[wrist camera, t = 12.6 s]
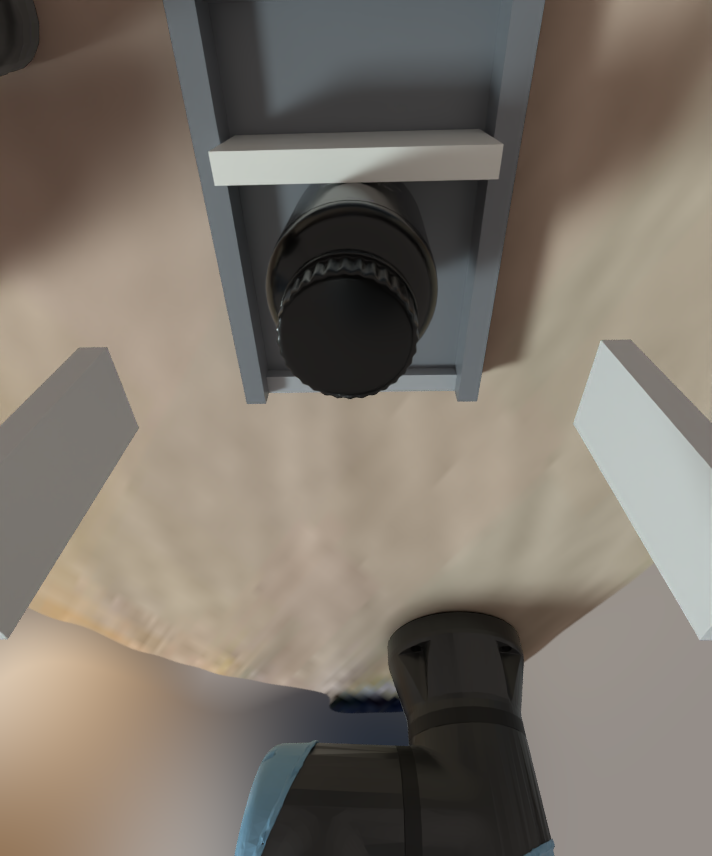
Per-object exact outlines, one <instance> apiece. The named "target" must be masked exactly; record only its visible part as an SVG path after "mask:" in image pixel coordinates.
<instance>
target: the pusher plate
mask: <svg viewBox="0 0 712 856" xmlns="http://www.w3.org/2000/svg"><path fill="white" fill-rule="evenodd" d="M503 146H504V144H503V143H501V142H499V141H498V140H496V139H495V138H493V137H492V136H490V135H488V134H487V133H485V132H484V131H482V130H481V129H455V130H416V131H377V132H339V133H300V134H262V135H234V136H233V137H231V138H230V139H228V140H226V141H225V142H223V143H221V144H220V145H218V146H217V147H215V148H213V149H212V150H210V151H208V153H209V159H210V164H211V169H212V174H213V179H214V185H215V186H228V185H271V184H315V183H358V182H401V181H444V180H488V179H499V173H500V166H501V159H502V153H503Z"/></svg>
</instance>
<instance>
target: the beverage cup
mask: <svg viewBox="0 0 712 856" xmlns="http://www.w3.org/2000/svg"><path fill="white" fill-rule="evenodd" d="M38 44H39V22H38V18H37V14H36V10H35V6H34V2H33V0H0V76H2V75H6V74H7V73H8V72H12V71H16V70H19V69H22V68H24V67H25V66H26V65H27V64H28V63H29V62H30V61H31V60H32V59H33V58H34V55H35V52H36V49H37V47H38Z"/></svg>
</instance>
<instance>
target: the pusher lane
mask: <svg viewBox="0 0 712 856" xmlns="http://www.w3.org/2000/svg"><path fill="white" fill-rule="evenodd" d="M163 4H164V9H165V13H166V18H167V23H168V28H169V33H170V37H171V42H172V47H173V52H174V57H175V61H176V66H177V71H178V76H179V80H180V85H181V90H182V95H183V100H184V104H185V109H186V114H187V119H188V124H189V128H190V133H191V138H192V143H193V148H194V152H195V157H196V162H197V167H198V172H199V176H200V181H201V186H202V191H203V196H204V200H205V205H206V210H207V215H208V219H209V224H210V229H211V234H212V239H213V243H214V248H215V253H216V258H217V263H218V267H219V272H220V277H221V282H222V287H223V291H224V296H225V301H226V306H227V311H228V315H229V320H230V325H231V330H232V335H233V339H234V344H235V349H236V354H237V358H238V363H239V368H240V373H241V378H242V382H243V387H244V392H245V397H246V402H247V404H266V401H267V398H268V394H269V393H293V392H319V391H314V390H312V389H311V388H310V387H309V386H308V385H305V384H302V382H301V381H300V379H299V378H297V377H295V376H294V375H293V374H292V371H291V369H290V368H288V367H287V366H286V365H285V360H284V358H283V357H282V356H281V355H280V347H279V345H278V343H277V336H278V334H277V331H276V325H275V323H274V321H273V319H272V316H271V314H270V311H269V308H268V303H267V298H266V273H267V268H268V264H269V261H270V257H271V254H272V252H273V250H274V247H275V245H276V243H277V241H278V239H279V237H280V235H281V233H282V231H283V230H284V228H285V226H286V224H287V222H288V220H289V218H290V216H291V214H292V212H293V211H294V209H295V207H296V205H297V203H298V201H299V199H300V198H301V196H302V195H303V193H304V192H305V190H306V189H307V188H308V187H309V185H310V184H271V185H228V186H215V185H214V179H213V174H212V169H211V164H210V159H209V153H208V151H210V150H212V149H213V148H215V147H217V146H218V145H220V144H221V143H223V142H225V141H226V140H228V139H230V138H231V137H233V136H234V135H262V134H300V133H339V132H377V131H416V130H455V129H481V130H482V131H484V132H485V133H487V134H488V135H490V136H492V137H493V138H495V139H496V140H498V141H499V142H501V143H503V144H504V146H503V153H502V159H501V166H500V173H499V179H488V180H444V181H401V182H402V183H403V184H404V185H405V186H406V187H407V189H408V190H409V191H410V193H411V194H412V196H413V197H414V199H415V201H416V203H417V206H418V208H419V211H420V213H421V217H422V220H423V224H424V227H425V231H426V234H427V238H428V241H429V245H430V248H431V252H432V255H433V259H434V262H435V266H436V271H437V279H438V297H437V304H436V308H435V312H434V315H433V318H432V320H431V322H430V325H429V327H428V328H427V330H426V332H425V334H424V335H423V336H422V338H421V339H420V340H419V341H418V343H417V344H416V345H417V352H416V354H415V355H414V356H413V360H412V364H411V365H410V366H409V367H407V369H406V373H405V374H404V375H403V376H401V377H399V379H398V381H397V382H396V383H394V384H392V385H390V386H389V387H388V388H387V389H386V390H383V391H455V394H456V397H457V401H477V398H478V393H479V387H480V381H481V375H482V369H483V363H484V357H485V351H486V345H487V340H488V334H489V328H490V322H491V316H492V310H493V304H494V298H495V292H496V287H497V281H498V275H499V269H500V263H501V257H502V251H503V245H504V239H505V234H506V228H507V222H508V216H509V210H510V204H511V198H512V192H513V186H514V181H515V175H516V169H517V163H518V157H519V151H520V145H521V139H522V133H523V128H524V122H525V116H526V110H527V104H528V98H529V92H530V86H531V80H532V75H533V69H534V63H535V57H536V51H537V45H538V39H539V33H540V27H541V22H542V16H543V10H544V4H545V0H163ZM379 392H381V391H379Z"/></svg>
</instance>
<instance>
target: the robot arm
mask: <svg viewBox="0 0 712 856" xmlns="http://www.w3.org/2000/svg"><path fill="white" fill-rule="evenodd" d="M573 424H574V426H575V427H576V429H577V431H578V433H579V434H580V436H581V438H582V439H583V441H584V443H585V445H586V446H587V448H588V450H589V451H590V453H591V455H592V457H593V458H594V460H595V462H596V463H597V465H598V467H599V469H600V470H601V472H602V474H603V475H604V477H605V479H606V481H607V482H608V484H609V486H610V487H611V489H612V491H613V493H614V494H615V496H616V498H617V499H618V501H619V503H620V505H621V506H622V508H623V510H624V511H625V513H626V515H627V517H628V518H629V520H630V522H631V523H632V525H633V527H634V529H635V530H636V532H637V534H638V535H639V537H640V539H641V541H642V542H643V544H644V546H645V547H646V549H647V551H648V553H649V554H650V556H651V558H652V559H653V561H654V563H655V565H656V566H657V568H658V570H659V571H660V573H661V575H662V577H663V578H664V580H665V582H666V583H667V585H668V587H669V589H670V590H671V592H672V594H673V595H674V597H675V599H676V600H677V602H678V604H679V606H680V607H681V609H682V611H683V612H684V614H685V616H686V618H687V619H688V621H689V623H690V625H691V626H692V628H693V629H694V631H695V633H696V635H697V637H698V638H699V640H712V423H711V422H710V421H709V420H708V419H707V418H706V417H705V416H704V415H703V414H702V413H701V412H700V411H699V410H698V408H697V407H696V406H695V405H694V404H693V403H692V402H691V401H690V400H689V399H688V398H687V397H686V396H685V395H684V394H683V393H682V392H681V391H680V390H679V389H678V388H677V387H676V386H675V385H674V384H673V383H672V382H671V381H670V380H669V379H668V378H667V377H666V376H665V374H664V373H663V372H662V371H661V370H660V369H659V368H658V367H657V366H656V365H655V364H654V363H653V362H652V361H651V360H650V359H649V358H648V357H647V356H646V355H645V354H644V353H643V352H642V351H641V350H640V349H639V348H638V347H637V346H636V345H635V344H634V343H633V342H632V340H601V342H600V345H599V348H598V351H597V354H596V357H595V360H594V363H593V366H592V369H591V372H590V375H589V378H588V381H587V384H586V387H585V390H584V393H583V396H582V399H581V402H580V405H579V408H578V411H577V414H576V417H575V420H574V423H573ZM138 429H139V427H138V425H137V422H136V420H135V417H134V414H133V412H132V409H131V407H130V404H129V402H128V399H127V397H126V394H125V392H124V389H123V386H122V384H121V381H120V379H119V376H118V374H117V371H116V369H115V366H114V364H113V361H112V358H111V356H110V353H109V351H108V348H107V347H91V348H78V349H77V350H76V351H75V352H74V353H73V354H72V355H71V356H70V357H69V358H68V359H67V360H66V361H65V362H64V363H63V364H62V365H61V366H60V367H59V368H58V369H57V370H56V371H55V372H54V373H53V374H52V375H51V376H50V377H49V378H48V379H47V380H46V381H45V382H44V383H43V384H42V385H41V386H40V387H39V388H38V389H37V390H36V391H35V392H34V393H33V394H32V395H31V396H30V397H29V398H28V399H27V400H26V401H25V402H24V403H23V404H22V405H21V406H20V407H19V408H18V409H17V410H16V411H15V412H14V413H13V414H12V415H11V416H10V417H9V418H8V419H7V420H6V421H5V422H4V423H3V424H2V425H1V426H0V639H8V638H9V636H10V635H11V633H12V632H13V630H14V628H15V627H16V625H17V623H18V622H19V620H20V619H21V617H22V615H23V614H24V612H25V611H26V609H27V608H28V606H29V604H30V603H31V601H32V599H33V598H34V596H35V595H36V593H37V591H38V590H39V588H40V587H41V585H42V583H43V582H44V580H45V579H46V577H47V575H48V574H49V572H50V570H51V569H52V567H53V566H54V564H55V562H56V561H57V559H58V558H59V556H60V554H61V553H62V551H63V549H64V548H65V546H66V545H67V543H68V541H69V540H70V538H71V537H72V535H73V533H74V532H75V530H76V529H77V527H78V525H79V524H80V522H81V520H82V519H83V517H84V516H85V514H86V512H87V511H88V509H89V508H90V506H91V504H92V503H93V501H94V500H95V498H96V496H97V495H98V493H99V491H100V490H101V488H102V487H103V485H104V483H105V482H106V480H107V479H108V477H109V475H110V474H111V472H112V471H113V469H114V467H115V466H116V464H117V462H118V461H119V459H120V458H121V456H122V454H123V453H124V451H125V450H126V448H127V446H128V445H129V443H130V442H131V440H132V438H133V437H134V435H135V433H136V432H137V430H138ZM388 665H389V670H390V673H391V676H392V679H393V682H394V685H395V688H396V690H397V693H398V696H399V699H400V702H401V705H402V707H403V710H404V713H405V716H406V719H407V724H408V738H409V746H387V745H361V744H332V743H319V741H317V740H314V741H312V742H310V743H285V744H279V745H277V746H275V747H274V748H272V749H271V750H270V751H269V752H268V753H267V754H266V756H265V757H264V759H263V761H262V763H261V765H260V767H259V769H258V772H257V774H256V777H255V779H254V782H253V785H252V788H251V792H250V795H249V798H248V801H247V805H246V808H245V812H244V816H243V820H242V824H241V828H240V832H239V837H238V841H237V845H236V851H235V856H554V852H553V849H554V847H555V846H554V842H553V839H551V836H550V833H549V828H548V824H547V820H546V816H545V812H544V808H543V804H542V799H541V795H540V791H539V787H538V783H537V779H536V775H535V771H534V767H533V763H532V758H531V754H530V750H529V746H528V742H527V739H526V734H525V731H524V726H523V721H522V717H521V702H522V684H523V666H524V657H523V651H522V647H521V644H520V640H519V636H518V634H517V632H516V630H515V629H514V628H513V627H512V626H510V625H509V624H508V623H506V622H504V621H502V620H500V619H498V618H495V617H492V616H488V615H484V614H478V613H469V612H451V613H441V614H435V615H430V616H426V617H423V618H420V619H417V620H414V621H412V622H410V623H408V624H406V625H404V626H402V627H401V628H400V629H398V630H397V631H396V632H395V633H394V634H393V635H392V636H391V638H390V640H389V642H388Z"/></svg>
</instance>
